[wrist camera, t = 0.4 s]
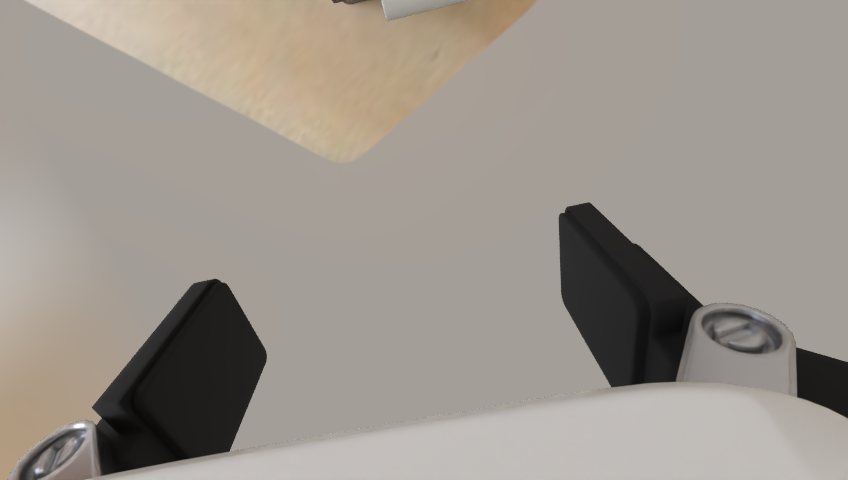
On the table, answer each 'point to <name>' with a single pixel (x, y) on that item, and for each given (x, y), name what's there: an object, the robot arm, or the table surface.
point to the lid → (410, 6)
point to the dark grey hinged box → (352, 1)
